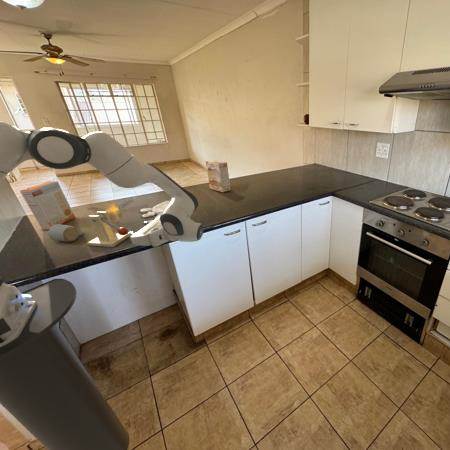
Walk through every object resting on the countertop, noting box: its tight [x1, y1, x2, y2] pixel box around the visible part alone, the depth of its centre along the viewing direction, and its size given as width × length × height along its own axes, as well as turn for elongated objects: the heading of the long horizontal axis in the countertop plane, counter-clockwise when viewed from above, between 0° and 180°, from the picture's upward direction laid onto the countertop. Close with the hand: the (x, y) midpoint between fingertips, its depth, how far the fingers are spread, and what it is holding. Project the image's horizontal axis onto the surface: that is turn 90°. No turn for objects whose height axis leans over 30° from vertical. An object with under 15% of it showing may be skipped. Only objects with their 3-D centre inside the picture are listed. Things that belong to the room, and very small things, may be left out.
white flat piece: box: [140, 200, 171, 220], centre depth 145 cm, size 21×28×1 cm
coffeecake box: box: [205, 159, 231, 193], centre depth 170 cm, size 15×7×20 cm, turn 53°
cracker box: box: [19, 180, 76, 230], centre depth 124 cm, size 14×6×21 cm, turn 178°
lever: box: [95, 213, 129, 235], centre depth 108 cm, size 14×4×4 cm
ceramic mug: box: [47, 224, 84, 243], centre depth 113 cm, size 11×8×8 cm
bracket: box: [87, 210, 129, 248], centre depth 110 cm, size 12×9×14 cm
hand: (137, 228), depth 108 cm, fingers open, 8 cm apart
